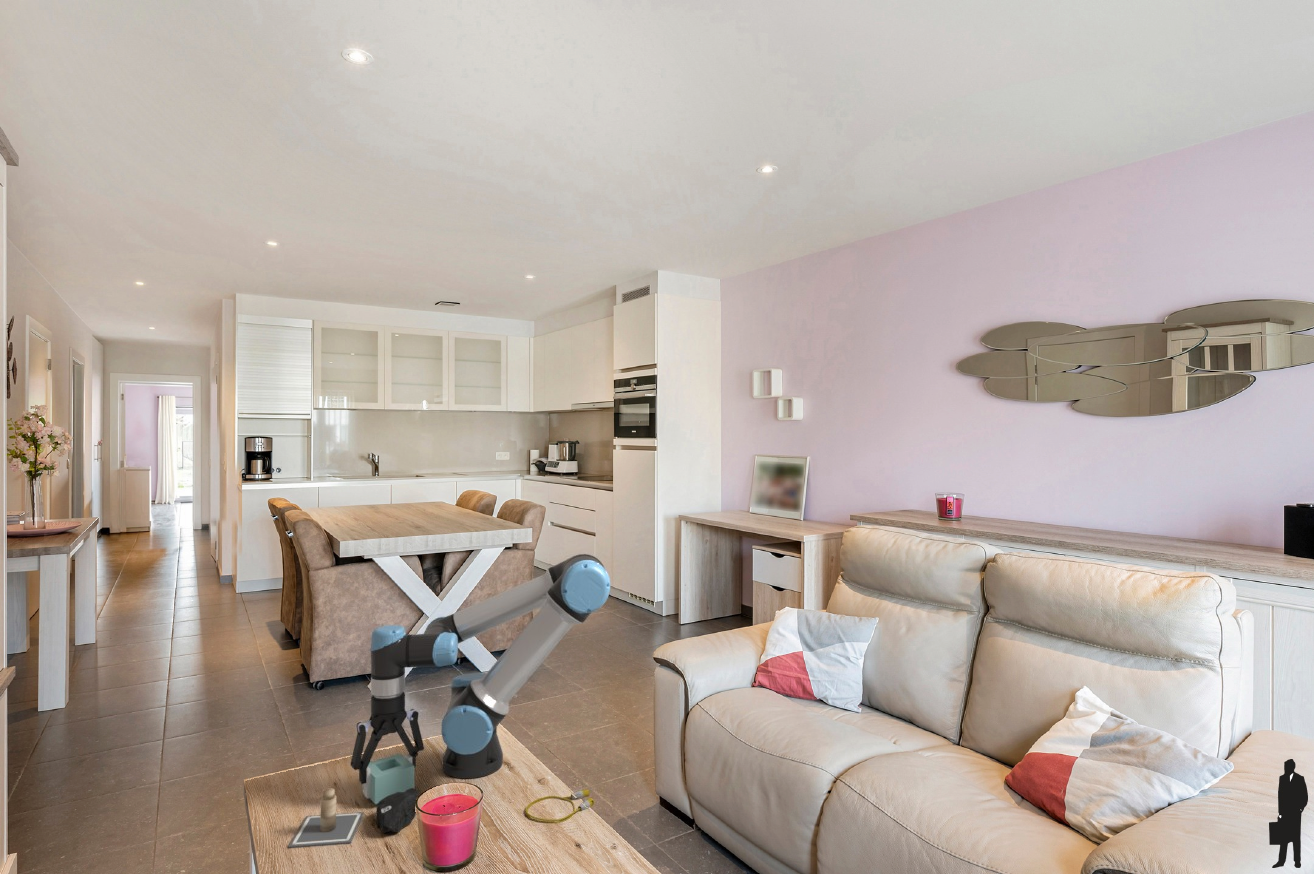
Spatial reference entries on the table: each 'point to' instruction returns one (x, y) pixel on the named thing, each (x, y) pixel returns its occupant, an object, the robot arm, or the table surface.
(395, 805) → the rock
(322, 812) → the post
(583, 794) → the extension cord
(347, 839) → the mat
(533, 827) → the table surface
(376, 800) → the block with square hole
